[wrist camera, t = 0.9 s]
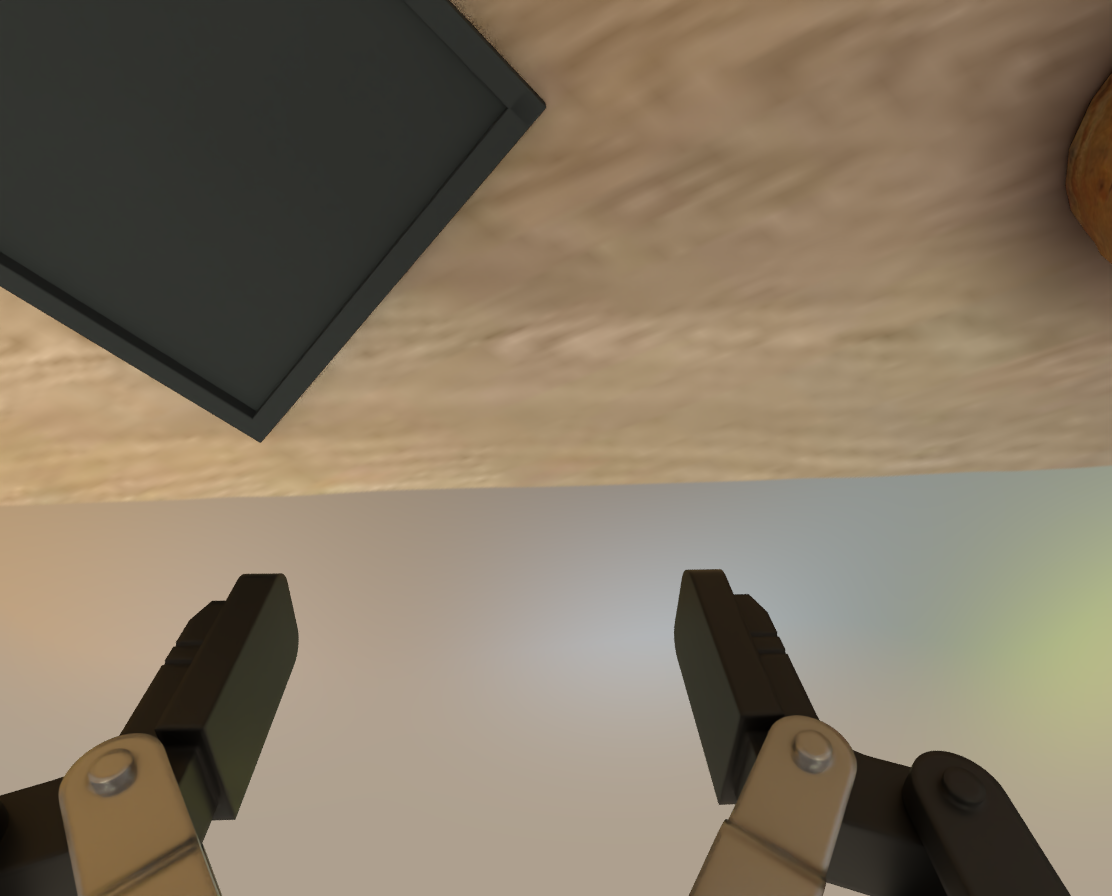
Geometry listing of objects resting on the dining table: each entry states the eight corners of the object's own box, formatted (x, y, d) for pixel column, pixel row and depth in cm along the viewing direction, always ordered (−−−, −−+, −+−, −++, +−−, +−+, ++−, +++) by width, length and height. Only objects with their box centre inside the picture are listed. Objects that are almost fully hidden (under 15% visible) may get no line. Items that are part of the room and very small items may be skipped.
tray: (-296, 87, 27) (-326, 91, 26) (-133, -622, 18) (-171, -657, 17) (266, 431, 39) (260, 443, 38) (545, 103, 29) (546, 107, 28)
